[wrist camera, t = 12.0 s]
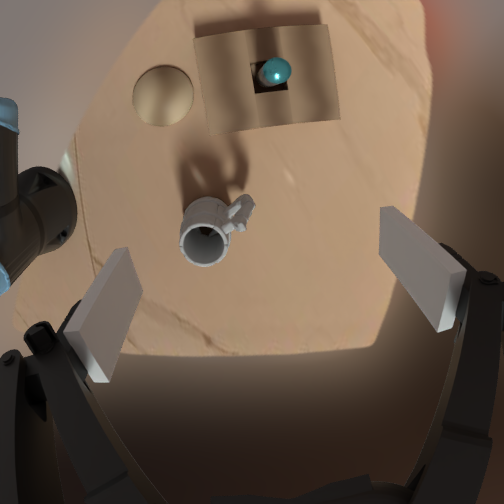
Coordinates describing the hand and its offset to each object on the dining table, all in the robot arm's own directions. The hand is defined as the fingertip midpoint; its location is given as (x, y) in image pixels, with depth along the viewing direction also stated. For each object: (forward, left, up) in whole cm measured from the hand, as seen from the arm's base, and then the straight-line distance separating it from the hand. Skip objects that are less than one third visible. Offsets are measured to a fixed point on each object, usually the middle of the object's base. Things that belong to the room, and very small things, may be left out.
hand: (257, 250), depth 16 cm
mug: (-5, -9, -33) cm, 34 cm away
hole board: (+5, +10, -33) cm, 35 cm away
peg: (+5, +10, -33) cm, 35 cm away
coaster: (-10, +10, -33) cm, 36 cm away
